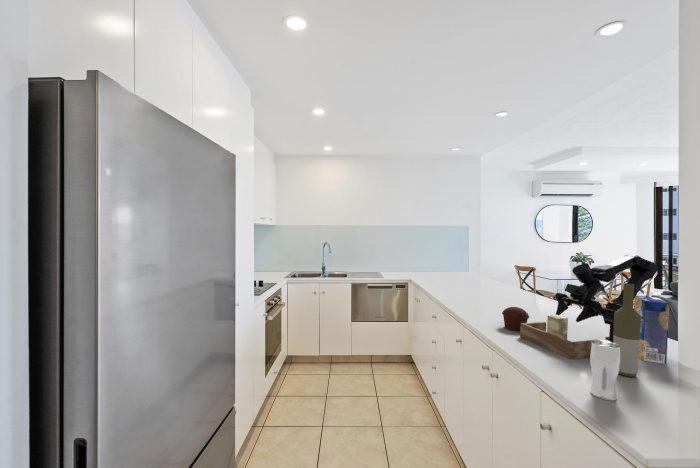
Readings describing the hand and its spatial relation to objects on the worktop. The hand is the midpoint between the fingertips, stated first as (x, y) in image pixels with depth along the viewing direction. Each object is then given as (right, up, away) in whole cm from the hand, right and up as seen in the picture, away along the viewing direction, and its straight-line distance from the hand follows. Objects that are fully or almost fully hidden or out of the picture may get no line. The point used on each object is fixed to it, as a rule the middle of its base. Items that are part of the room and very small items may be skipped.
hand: (566, 318), depth 138 cm
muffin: (-10, -11, +22) cm, 26 cm away
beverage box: (+24, -12, -11) cm, 29 cm away
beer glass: (-16, -12, -41) cm, 46 cm away
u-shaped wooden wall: (-5, -11, -1) cm, 12 cm away
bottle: (+3, -12, -26) cm, 29 cm away
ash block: (-5, -11, -1) cm, 12 cm away
